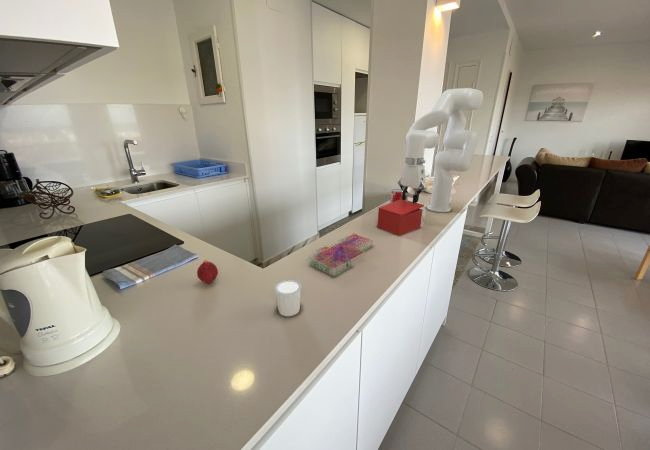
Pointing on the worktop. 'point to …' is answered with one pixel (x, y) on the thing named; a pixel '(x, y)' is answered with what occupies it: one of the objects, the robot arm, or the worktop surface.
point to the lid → (401, 206)
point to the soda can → (396, 195)
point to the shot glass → (288, 297)
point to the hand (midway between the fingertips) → (409, 200)
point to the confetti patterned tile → (346, 250)
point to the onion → (207, 271)
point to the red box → (399, 221)
